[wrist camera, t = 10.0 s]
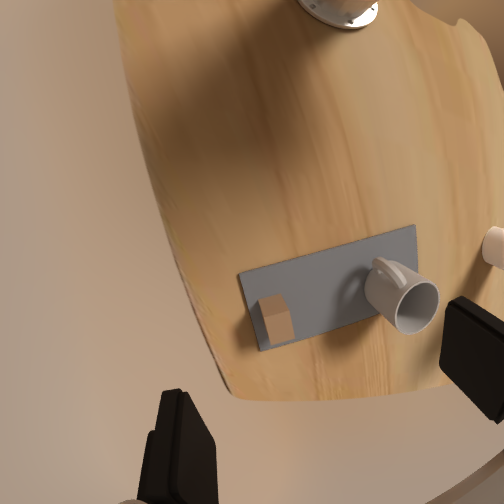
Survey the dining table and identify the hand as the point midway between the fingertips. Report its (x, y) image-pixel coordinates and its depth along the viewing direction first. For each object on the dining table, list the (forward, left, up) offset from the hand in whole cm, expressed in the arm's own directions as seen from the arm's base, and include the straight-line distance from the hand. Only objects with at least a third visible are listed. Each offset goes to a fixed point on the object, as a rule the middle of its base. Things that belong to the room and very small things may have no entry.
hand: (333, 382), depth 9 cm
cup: (+11, +16, -28) cm, 34 cm away
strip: (+11, +10, -28) cm, 32 cm away
